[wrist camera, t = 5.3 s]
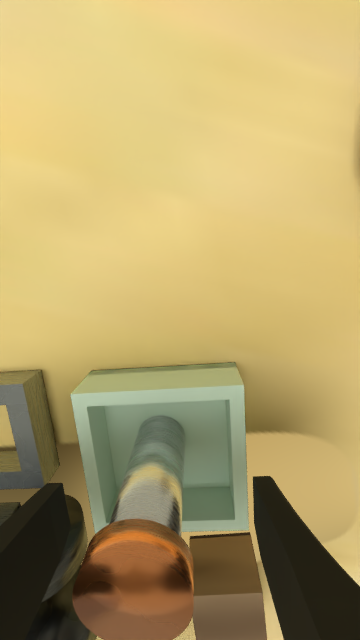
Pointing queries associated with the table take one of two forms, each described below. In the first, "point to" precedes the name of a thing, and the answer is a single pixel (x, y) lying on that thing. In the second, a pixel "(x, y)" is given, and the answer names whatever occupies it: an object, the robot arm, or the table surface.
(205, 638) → the brown rectangular block
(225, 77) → the table surface
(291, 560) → the robot arm
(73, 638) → the cart
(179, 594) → the pin
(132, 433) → the tray
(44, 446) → the grey square frame
